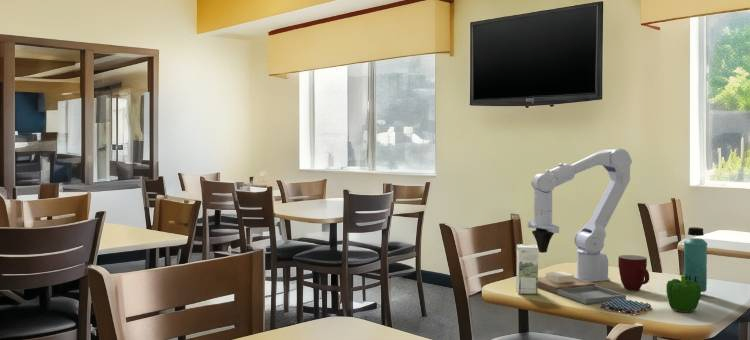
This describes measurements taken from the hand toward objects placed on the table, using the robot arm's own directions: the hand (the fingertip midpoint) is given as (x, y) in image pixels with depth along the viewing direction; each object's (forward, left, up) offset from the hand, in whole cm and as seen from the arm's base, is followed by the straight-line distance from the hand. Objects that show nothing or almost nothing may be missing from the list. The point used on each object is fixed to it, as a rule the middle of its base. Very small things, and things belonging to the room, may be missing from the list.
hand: (542, 252), depth 215 cm
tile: (0, +9, -7) cm, 12 cm away
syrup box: (+14, +12, -10) cm, 21 cm away
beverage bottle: (-30, +33, -10) cm, 46 cm away
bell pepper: (-13, +45, -10) cm, 48 cm away
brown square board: (0, +10, -9) cm, 14 cm away
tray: (0, +24, -9) cm, 26 cm away
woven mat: (0, +38, -10) cm, 39 cm away
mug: (-18, +22, -10) cm, 30 cm away
